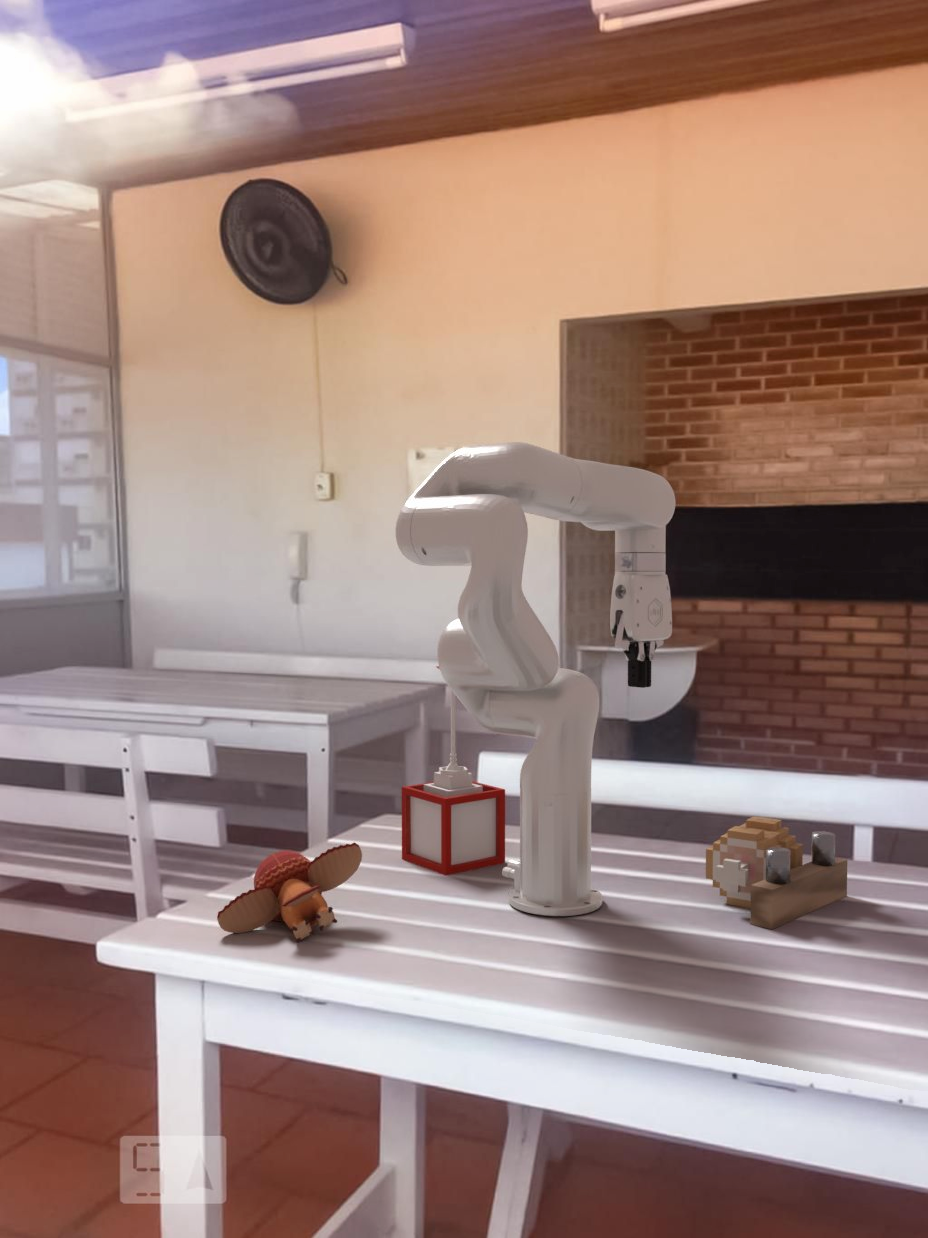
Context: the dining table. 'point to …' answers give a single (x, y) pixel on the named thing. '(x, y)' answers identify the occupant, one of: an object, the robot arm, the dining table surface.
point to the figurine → (292, 891)
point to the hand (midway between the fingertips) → (639, 686)
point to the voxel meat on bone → (747, 857)
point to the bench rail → (798, 883)
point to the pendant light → (453, 819)
